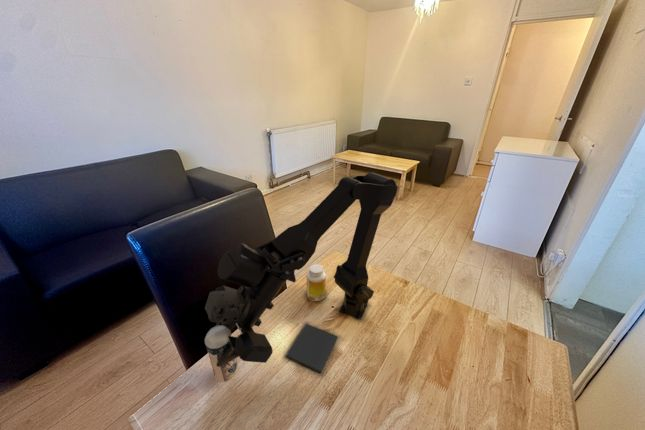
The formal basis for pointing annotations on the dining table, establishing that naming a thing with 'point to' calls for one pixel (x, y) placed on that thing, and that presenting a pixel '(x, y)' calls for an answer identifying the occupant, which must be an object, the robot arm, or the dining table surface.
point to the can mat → (312, 347)
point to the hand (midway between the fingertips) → (214, 355)
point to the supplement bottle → (316, 282)
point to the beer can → (220, 353)
